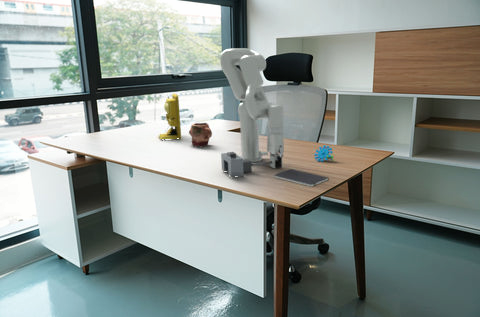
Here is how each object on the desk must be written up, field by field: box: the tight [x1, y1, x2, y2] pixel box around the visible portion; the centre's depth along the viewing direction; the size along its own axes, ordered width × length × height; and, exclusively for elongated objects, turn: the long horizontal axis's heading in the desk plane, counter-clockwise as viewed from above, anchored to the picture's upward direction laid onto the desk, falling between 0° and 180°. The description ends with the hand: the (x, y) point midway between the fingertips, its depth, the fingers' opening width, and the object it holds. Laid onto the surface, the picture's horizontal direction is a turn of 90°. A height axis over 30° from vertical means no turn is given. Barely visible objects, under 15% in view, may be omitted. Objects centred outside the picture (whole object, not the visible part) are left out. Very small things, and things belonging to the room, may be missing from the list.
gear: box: [313, 145, 335, 163], centre depth 204 cm, size 11×6×10 cm
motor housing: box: [220, 151, 244, 178], centre depth 185 cm, size 6×14×10 cm, turn 21°
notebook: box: [273, 168, 330, 187], centre depth 175 cm, size 13×2×21 cm
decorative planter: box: [188, 122, 213, 147], centre depth 246 cm, size 20×12×14 cm, turn 49°
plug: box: [243, 154, 279, 173], centre depth 190 cm, size 22×4×6 cm, turn 110°
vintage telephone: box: [158, 93, 182, 140], centre depth 273 cm, size 31×14×30 cm, turn 17°
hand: (276, 166), depth 194 cm, fingers closed on plug, 4 cm apart
